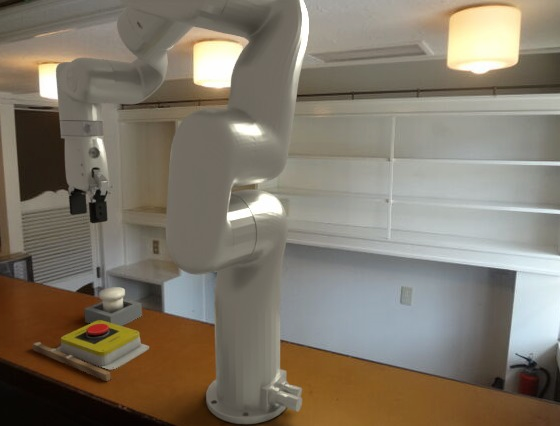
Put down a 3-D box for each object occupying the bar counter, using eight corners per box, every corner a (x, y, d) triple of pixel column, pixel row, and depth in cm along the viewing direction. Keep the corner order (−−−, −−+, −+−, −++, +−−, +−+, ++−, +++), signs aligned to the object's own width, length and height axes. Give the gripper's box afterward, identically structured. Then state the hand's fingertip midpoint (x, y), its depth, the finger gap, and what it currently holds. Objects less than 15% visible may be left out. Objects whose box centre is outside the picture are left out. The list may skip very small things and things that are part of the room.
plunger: (131, 306, 94) (130, 290, 93) (111, 315, 90) (110, 297, 89) (115, 302, 96) (113, 285, 96) (95, 310, 92) (94, 293, 91)
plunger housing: (142, 316, 95) (141, 303, 94) (111, 331, 88) (110, 316, 88) (116, 308, 99) (115, 296, 98) (85, 322, 92) (84, 308, 92)
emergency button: (94, 311, 88) (150, 328, 81) (95, 332, 89) (151, 350, 82) (51, 330, 80) (110, 350, 73) (53, 352, 81) (112, 374, 74)
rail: (111, 379, 72) (110, 371, 71) (106, 381, 71) (106, 373, 70) (37, 348, 81) (36, 341, 81) (32, 350, 81) (32, 343, 80)
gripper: (121, 132, 81) (126, 222, 85) (83, 129, 93) (89, 208, 97) (80, 132, 76) (87, 228, 80) (45, 129, 88) (53, 213, 91)
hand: (88, 217), depth 88 cm, fingers open, 9 cm apart
